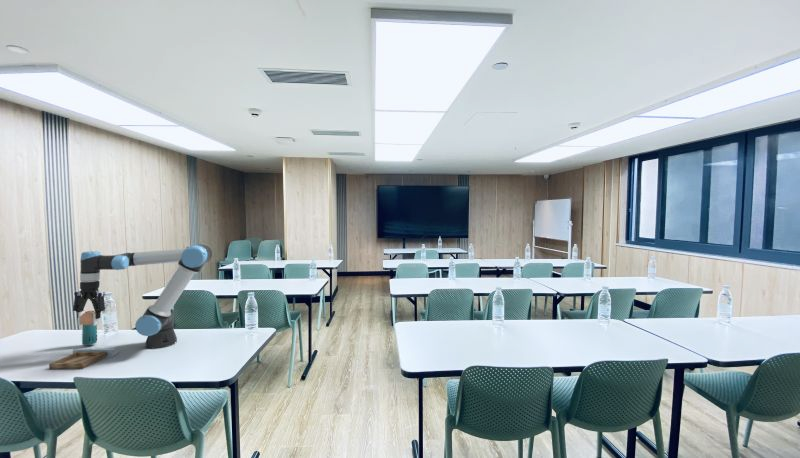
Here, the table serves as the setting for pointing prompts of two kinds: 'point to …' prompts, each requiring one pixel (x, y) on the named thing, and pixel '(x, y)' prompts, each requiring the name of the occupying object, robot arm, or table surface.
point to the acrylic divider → (109, 351)
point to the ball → (87, 318)
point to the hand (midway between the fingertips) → (88, 324)
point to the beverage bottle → (89, 334)
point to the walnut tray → (78, 360)
